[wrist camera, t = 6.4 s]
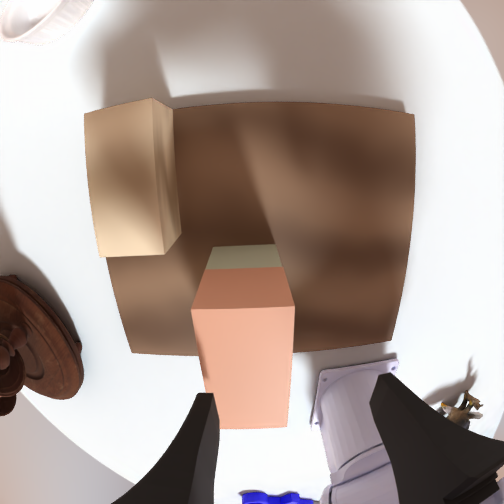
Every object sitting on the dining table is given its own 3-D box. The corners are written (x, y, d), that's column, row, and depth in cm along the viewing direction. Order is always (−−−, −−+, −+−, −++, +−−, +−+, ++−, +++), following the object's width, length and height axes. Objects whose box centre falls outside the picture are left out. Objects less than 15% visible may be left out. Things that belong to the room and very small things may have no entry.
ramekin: (83, 43, 14) (54, 26, 10) (15, 59, 13) (-15, 52, 9) (118, -37, 11) (99, -60, 7) (45, -15, 10) (23, -29, 6)
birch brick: (181, 233, 18) (164, 254, 14) (126, 237, 18) (99, 257, 14) (172, 109, 15) (151, 97, 12) (115, 119, 15) (84, 113, 12)
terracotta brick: (280, 379, 17) (286, 426, 13) (219, 381, 17) (214, 428, 13) (283, 266, 14) (294, 306, 11) (204, 269, 14) (190, 309, 11)
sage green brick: (275, 344, 21) (281, 380, 17) (223, 346, 21) (219, 382, 17) (275, 244, 18) (282, 267, 14) (213, 246, 18) (204, 271, 14)
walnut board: (386, 334, 22) (391, 340, 21) (135, 346, 22) (131, 352, 21) (407, 115, 16) (414, 114, 15) (97, 126, 16) (90, 125, 15)
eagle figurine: (460, 383, 24) (412, 437, 25) (494, 412, 19) (444, 467, 20) (455, 381, 30) (415, 427, 30) (484, 406, 25) (444, 452, 25)
